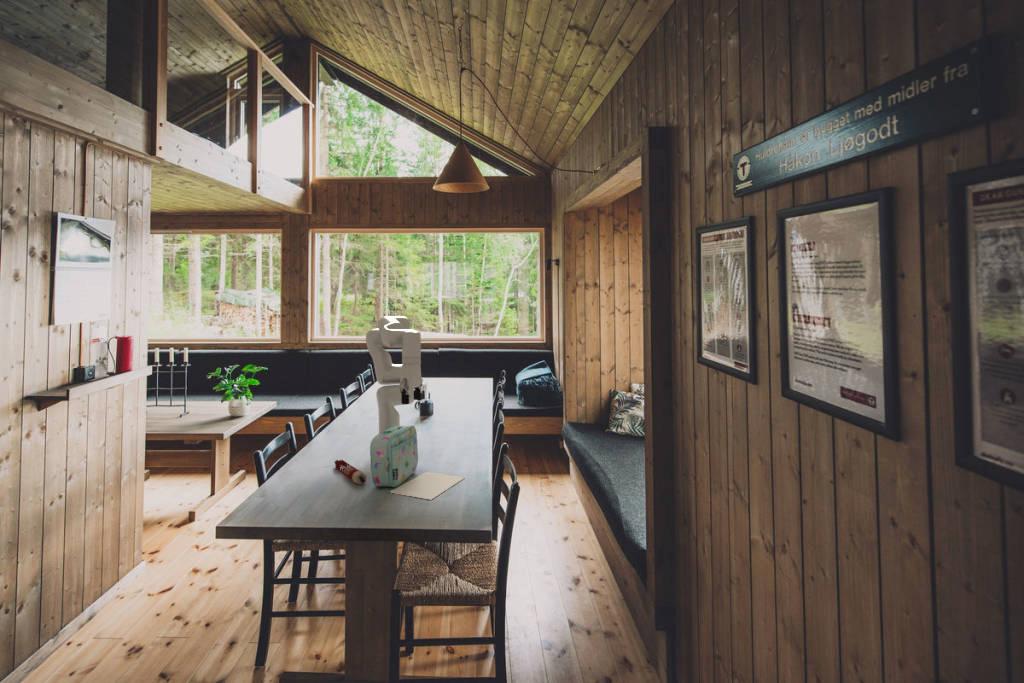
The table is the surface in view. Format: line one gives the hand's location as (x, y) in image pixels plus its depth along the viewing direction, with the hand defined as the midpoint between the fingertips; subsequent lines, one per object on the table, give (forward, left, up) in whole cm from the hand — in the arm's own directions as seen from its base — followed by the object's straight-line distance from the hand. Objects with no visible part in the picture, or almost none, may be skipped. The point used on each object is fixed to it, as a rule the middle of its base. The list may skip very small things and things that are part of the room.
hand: (411, 401), depth 218 cm
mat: (+16, -12, -29) cm, 35 cm away
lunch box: (+1, -12, -30) cm, 32 cm away
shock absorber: (-19, -16, -30) cm, 39 cm away
